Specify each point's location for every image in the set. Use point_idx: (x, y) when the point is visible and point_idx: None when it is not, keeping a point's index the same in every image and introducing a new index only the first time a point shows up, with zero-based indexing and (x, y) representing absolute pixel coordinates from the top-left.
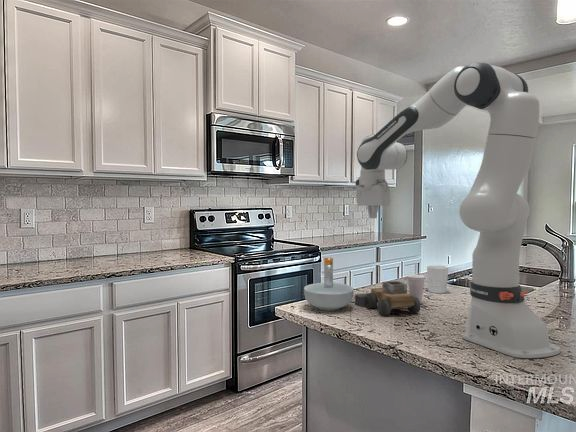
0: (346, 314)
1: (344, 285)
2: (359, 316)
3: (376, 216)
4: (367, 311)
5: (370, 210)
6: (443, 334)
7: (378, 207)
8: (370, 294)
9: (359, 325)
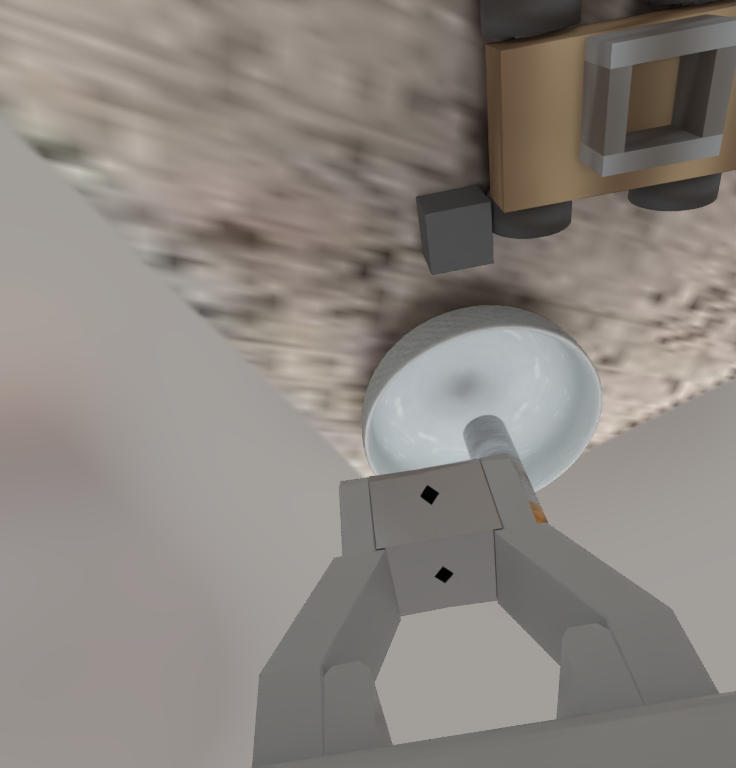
0: (580, 325)
1: (429, 350)
2: (627, 282)
3: (517, 476)
4: (568, 228)
5: (367, 663)
6: None
7: (688, 647)
8: (556, 227)
9: (731, 308)
